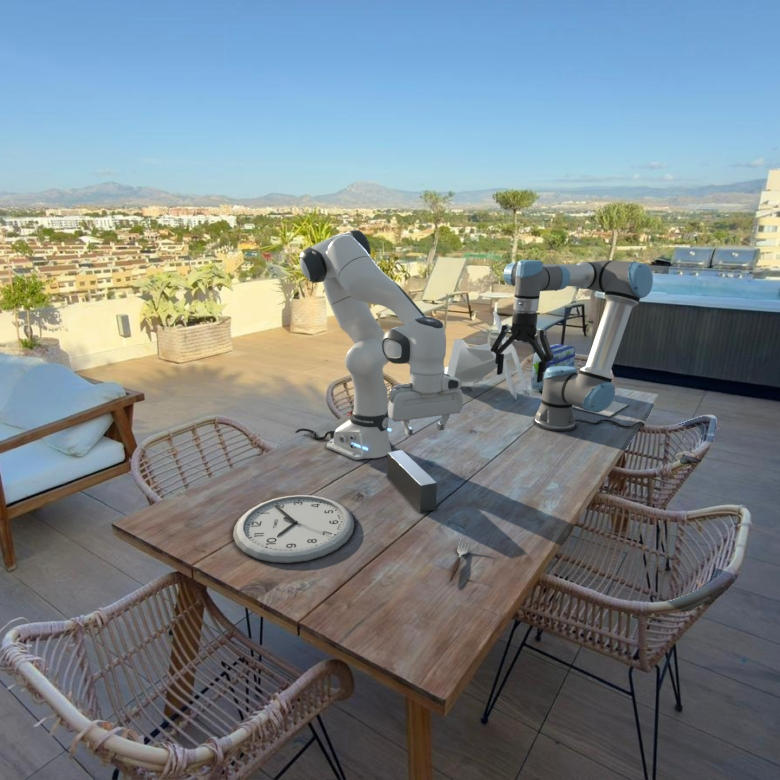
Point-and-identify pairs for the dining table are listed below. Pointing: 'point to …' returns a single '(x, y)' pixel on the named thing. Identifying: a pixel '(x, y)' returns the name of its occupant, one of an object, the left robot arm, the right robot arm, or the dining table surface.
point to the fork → (461, 551)
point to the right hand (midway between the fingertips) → (519, 377)
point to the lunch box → (553, 362)
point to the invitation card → (609, 409)
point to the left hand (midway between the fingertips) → (424, 432)
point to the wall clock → (293, 529)
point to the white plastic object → (482, 362)
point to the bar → (412, 481)
